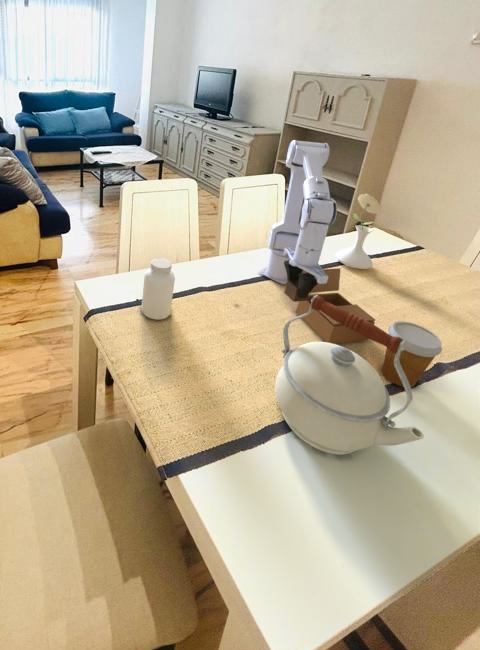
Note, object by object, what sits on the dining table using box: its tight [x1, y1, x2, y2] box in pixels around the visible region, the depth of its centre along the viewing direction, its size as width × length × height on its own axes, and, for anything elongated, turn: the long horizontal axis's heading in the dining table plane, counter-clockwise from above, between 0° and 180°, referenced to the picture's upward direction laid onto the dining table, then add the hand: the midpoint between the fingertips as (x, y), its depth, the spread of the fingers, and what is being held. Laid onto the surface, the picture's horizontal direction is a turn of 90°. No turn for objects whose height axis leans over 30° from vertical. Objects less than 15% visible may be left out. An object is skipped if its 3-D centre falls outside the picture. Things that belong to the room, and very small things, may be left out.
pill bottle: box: [141, 257, 176, 321], centre depth 101 cm, size 8×8×15 cm
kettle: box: [274, 295, 425, 456], centre depth 69 cm, size 25×18×25 cm
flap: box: [302, 267, 341, 294], centre depth 106 cm, size 6×12×1 cm
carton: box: [295, 292, 376, 345], centre depth 101 cm, size 13×12×6 cm
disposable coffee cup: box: [381, 320, 443, 388], centre depth 85 cm, size 10×10×12 cm
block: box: [284, 279, 308, 303], centre depth 99 cm, size 4×4×4 cm
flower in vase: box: [335, 193, 381, 270], centre depth 131 cm, size 13×11×25 cm
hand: (296, 292), depth 100 cm, fingers closed on block, 4 cm apart
